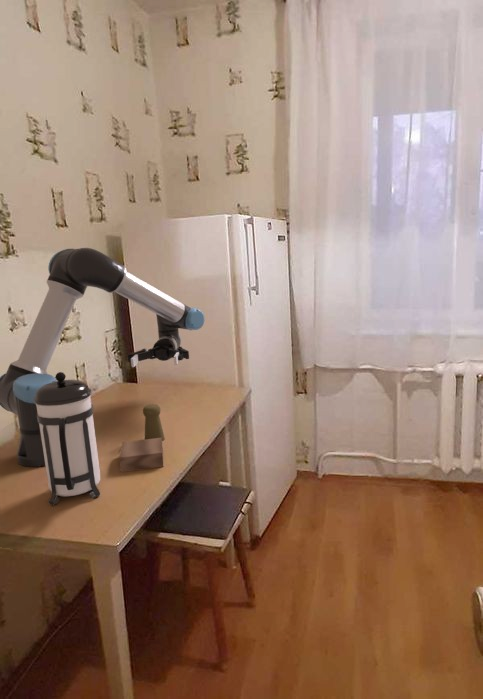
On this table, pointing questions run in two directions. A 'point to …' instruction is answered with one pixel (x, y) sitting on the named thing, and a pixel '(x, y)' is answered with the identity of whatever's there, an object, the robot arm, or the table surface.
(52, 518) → the table surface
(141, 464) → the walnut base
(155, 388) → the table surface
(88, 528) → the table surface
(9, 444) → the table surface
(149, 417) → the olive pawn
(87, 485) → the coffee press
